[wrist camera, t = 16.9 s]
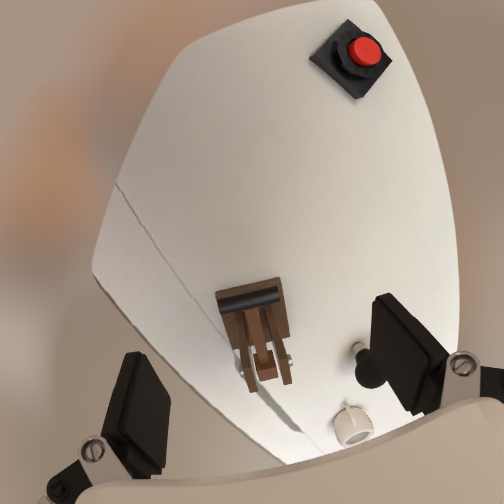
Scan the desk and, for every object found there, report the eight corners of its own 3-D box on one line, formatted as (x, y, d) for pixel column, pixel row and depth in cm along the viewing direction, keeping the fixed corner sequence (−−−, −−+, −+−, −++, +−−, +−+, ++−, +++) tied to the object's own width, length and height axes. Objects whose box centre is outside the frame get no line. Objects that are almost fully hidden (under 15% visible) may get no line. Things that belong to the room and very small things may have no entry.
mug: (364, 414, 57) (376, 438, 50) (332, 428, 57) (341, 453, 50) (361, 389, 52) (375, 416, 45) (325, 405, 52) (336, 433, 45)
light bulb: (371, 349, 48) (395, 386, 38) (342, 361, 48) (363, 400, 38) (370, 327, 45) (397, 364, 36) (340, 339, 45) (362, 379, 36)
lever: (216, 291, 24) (218, 312, 22) (274, 277, 24) (281, 298, 22) (245, 367, 33) (248, 384, 31) (285, 357, 33) (290, 374, 31)
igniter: (308, 58, 29) (319, 49, 25) (341, 24, 27) (354, 14, 23) (355, 99, 31) (370, 95, 27) (384, 63, 29) (400, 58, 26)
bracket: (215, 291, 39) (216, 354, 27) (279, 277, 39) (304, 334, 28) (232, 345, 43) (238, 409, 31) (288, 332, 43) (310, 392, 31)
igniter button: (342, 51, 26) (348, 48, 24) (357, 35, 25) (364, 31, 23) (364, 72, 27) (371, 69, 25) (378, 55, 26) (386, 52, 24)
